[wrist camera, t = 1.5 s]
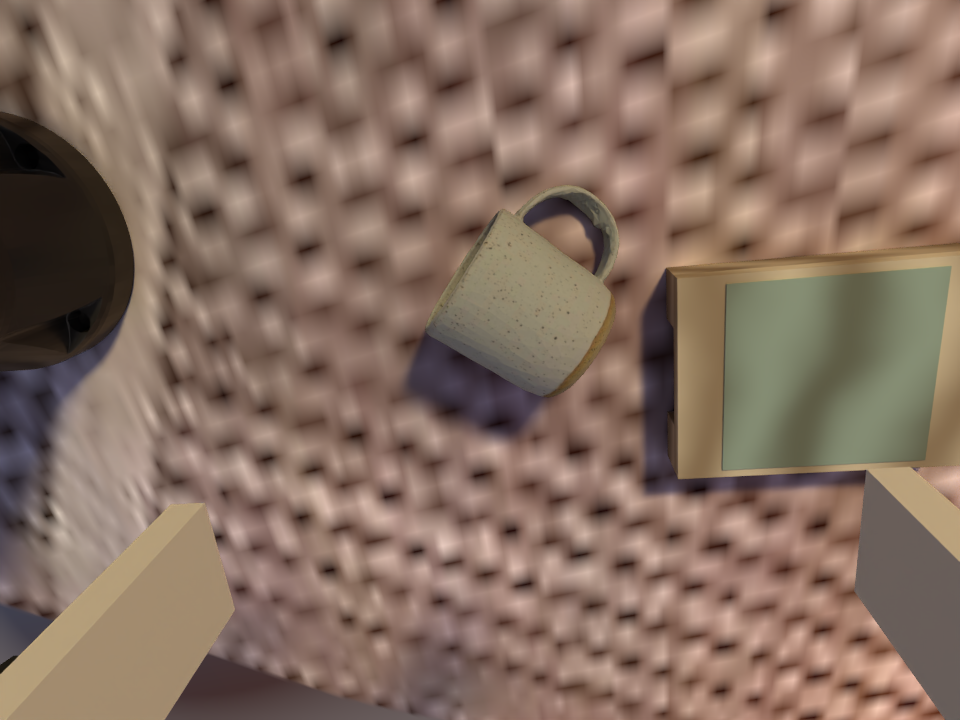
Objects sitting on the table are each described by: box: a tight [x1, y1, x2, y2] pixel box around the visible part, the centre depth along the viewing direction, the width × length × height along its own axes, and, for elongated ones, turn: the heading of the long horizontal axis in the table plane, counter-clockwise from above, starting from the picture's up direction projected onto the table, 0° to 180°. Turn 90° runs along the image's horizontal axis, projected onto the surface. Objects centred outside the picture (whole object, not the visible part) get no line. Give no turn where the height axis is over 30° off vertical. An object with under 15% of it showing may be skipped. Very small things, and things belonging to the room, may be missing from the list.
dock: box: [666, 243, 960, 479], centre depth 36 cm, size 16×12×3 cm
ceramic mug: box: [425, 185, 619, 397], centre depth 33 cm, size 11×8×8 cm
